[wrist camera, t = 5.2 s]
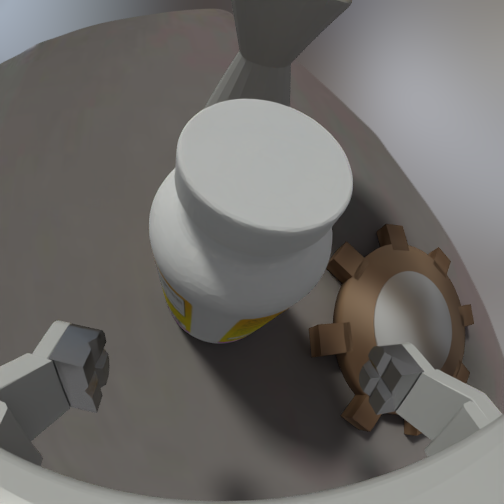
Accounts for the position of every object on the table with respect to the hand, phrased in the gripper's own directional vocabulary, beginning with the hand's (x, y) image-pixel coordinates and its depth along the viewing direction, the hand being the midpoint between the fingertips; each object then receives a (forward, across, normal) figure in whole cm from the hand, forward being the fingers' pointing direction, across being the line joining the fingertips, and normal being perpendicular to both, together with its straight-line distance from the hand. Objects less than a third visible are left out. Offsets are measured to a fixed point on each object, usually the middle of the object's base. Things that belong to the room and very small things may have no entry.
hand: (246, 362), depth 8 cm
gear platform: (+9, -15, +5) cm, 18 cm away
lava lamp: (+22, -1, -8) cm, 24 cm away
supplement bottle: (+10, 0, +4) cm, 11 cm away
